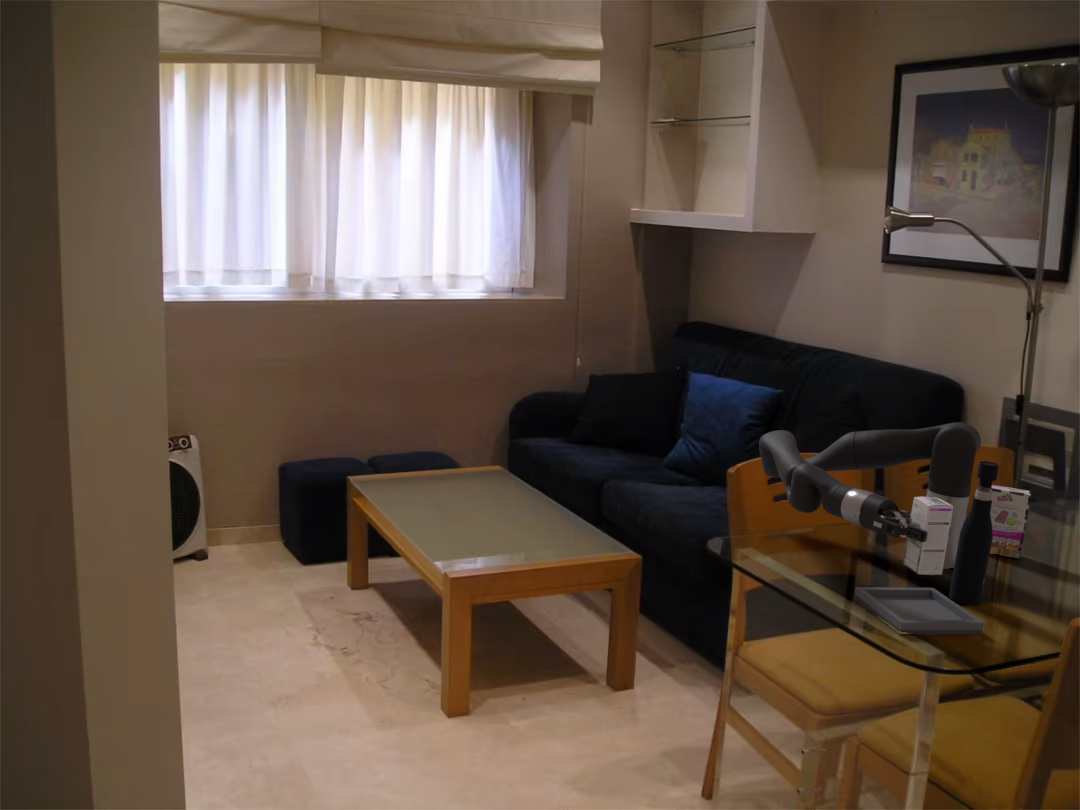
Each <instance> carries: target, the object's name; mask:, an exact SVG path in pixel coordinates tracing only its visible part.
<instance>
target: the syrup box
mask: <svg viewBox="0 0 1080 810" xmlns="http://www.w3.org/2000/svg"><path fill="white" fill-rule="evenodd" d="M911 511H912V512H911ZM911 511H910V513H911V519H910V525H909V527H910V526H913V527H916V528H918V529H921V530H924V531H926V532H927V540H926V542H920V541H917V540H914V539H912V538H909V537H908V536H907V537H906V543H905V549H904V556H903V562H902V564H903V566H905V567H906V568H908V569H909V570H911V571H913V572H914V573H916V574H917V575H924V576H925V575H926V576H927V575H928V576H935V575H941V576H942V575H943V571H944V569H943V565H944V559H945V553H946V547H947V541H948V535H949V530H950V524H951V518H952V512H953V506H952V505H951V504H949V503H947V502H945V501H943V500H941V499H939V498H937V497H926V496H914V497H913V501H912V507H911Z"/></svg>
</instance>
